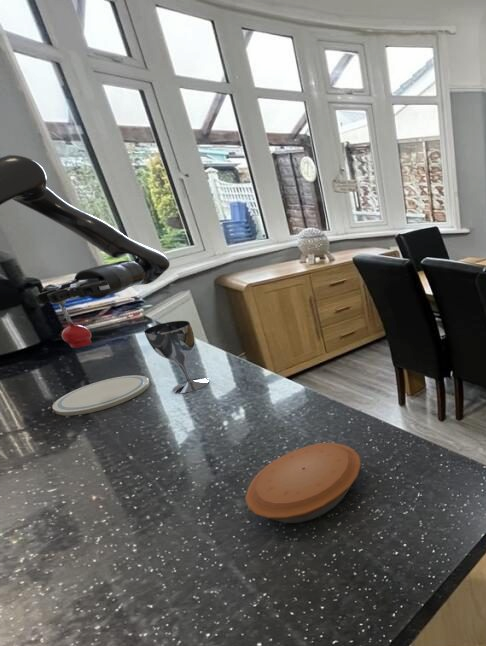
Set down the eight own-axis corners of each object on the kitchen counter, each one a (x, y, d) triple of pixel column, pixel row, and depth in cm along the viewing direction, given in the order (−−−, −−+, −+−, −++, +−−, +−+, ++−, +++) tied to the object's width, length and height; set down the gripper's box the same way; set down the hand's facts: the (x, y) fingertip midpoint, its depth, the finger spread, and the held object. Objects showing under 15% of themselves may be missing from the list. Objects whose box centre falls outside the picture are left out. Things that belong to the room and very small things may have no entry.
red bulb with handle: (84, 347, 94) (54, 289, 88) (61, 349, 93) (30, 290, 87) (100, 340, 98) (73, 283, 92) (79, 341, 98) (50, 285, 92)
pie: (226, 531, 54) (214, 504, 52) (297, 457, 68) (289, 433, 66) (329, 542, 52) (321, 514, 50) (380, 463, 66) (375, 439, 64)
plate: (39, 424, 80) (36, 419, 80) (72, 389, 93) (70, 385, 93) (139, 402, 87) (137, 397, 87) (157, 372, 100) (155, 369, 100)
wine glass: (218, 381, 95) (196, 324, 89) (179, 397, 88) (153, 336, 82) (202, 374, 98) (180, 318, 92) (164, 389, 92) (137, 330, 86)
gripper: (69, 267, 101) (0, 285, 86) (128, 264, 103) (71, 281, 87) (83, 295, 104) (18, 317, 89) (140, 292, 106) (86, 312, 90)
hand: (44, 299), depth 88 cm, fingers closed on red bulb with handle
